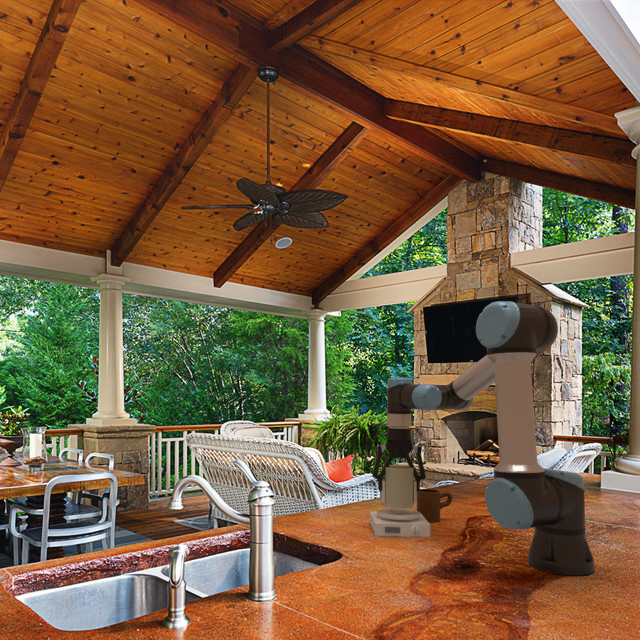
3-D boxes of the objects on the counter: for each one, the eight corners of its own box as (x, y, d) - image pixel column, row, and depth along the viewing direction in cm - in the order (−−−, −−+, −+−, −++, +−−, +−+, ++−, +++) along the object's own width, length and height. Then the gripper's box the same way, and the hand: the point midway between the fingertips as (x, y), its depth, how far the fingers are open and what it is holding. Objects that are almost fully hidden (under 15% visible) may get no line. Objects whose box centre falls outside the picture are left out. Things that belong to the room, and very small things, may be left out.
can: (413, 509, 171) (413, 468, 172) (382, 507, 173) (382, 466, 174) (414, 503, 180) (414, 464, 181) (384, 501, 182) (385, 462, 183)
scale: (430, 537, 167) (430, 519, 168) (375, 536, 167) (375, 518, 167) (420, 523, 183) (420, 507, 184) (370, 523, 183) (370, 506, 184)
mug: (448, 517, 194) (448, 488, 195) (456, 522, 187) (456, 492, 188) (413, 517, 192) (413, 488, 193) (420, 522, 185) (420, 492, 186)
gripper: (431, 427, 183) (431, 500, 180) (363, 425, 183) (362, 499, 180) (436, 429, 175) (436, 505, 173) (365, 427, 175) (364, 504, 173)
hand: (398, 502), depth 176 cm, fingers closed on can, 9 cm apart
